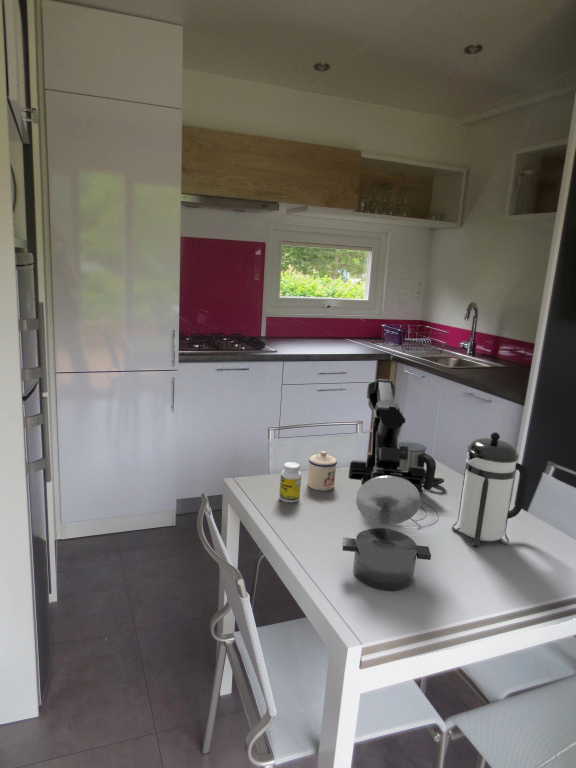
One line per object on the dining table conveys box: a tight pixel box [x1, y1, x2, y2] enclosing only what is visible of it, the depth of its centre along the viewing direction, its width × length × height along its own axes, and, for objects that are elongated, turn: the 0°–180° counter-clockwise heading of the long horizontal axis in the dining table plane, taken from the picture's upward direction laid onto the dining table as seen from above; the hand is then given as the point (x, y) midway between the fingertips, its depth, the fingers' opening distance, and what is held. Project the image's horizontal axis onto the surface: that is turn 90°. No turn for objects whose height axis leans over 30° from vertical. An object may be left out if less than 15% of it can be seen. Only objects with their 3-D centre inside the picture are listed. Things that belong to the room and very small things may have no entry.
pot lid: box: [355, 476, 421, 525], centre depth 129 cm, size 15×15×2 cm
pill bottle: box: [279, 461, 302, 504], centre depth 163 cm, size 6×6×11 cm
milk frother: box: [398, 441, 445, 493], centre depth 178 cm, size 14×16×15 cm
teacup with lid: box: [307, 450, 338, 492], centre depth 176 cm, size 12×9×12 cm
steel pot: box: [342, 527, 432, 592], centre depth 126 cm, size 15×20×8 cm
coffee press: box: [451, 432, 529, 549], centre depth 146 cm, size 17×16×30 cm
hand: (386, 504), depth 132 cm, fingers closed, pressing on pot lid
